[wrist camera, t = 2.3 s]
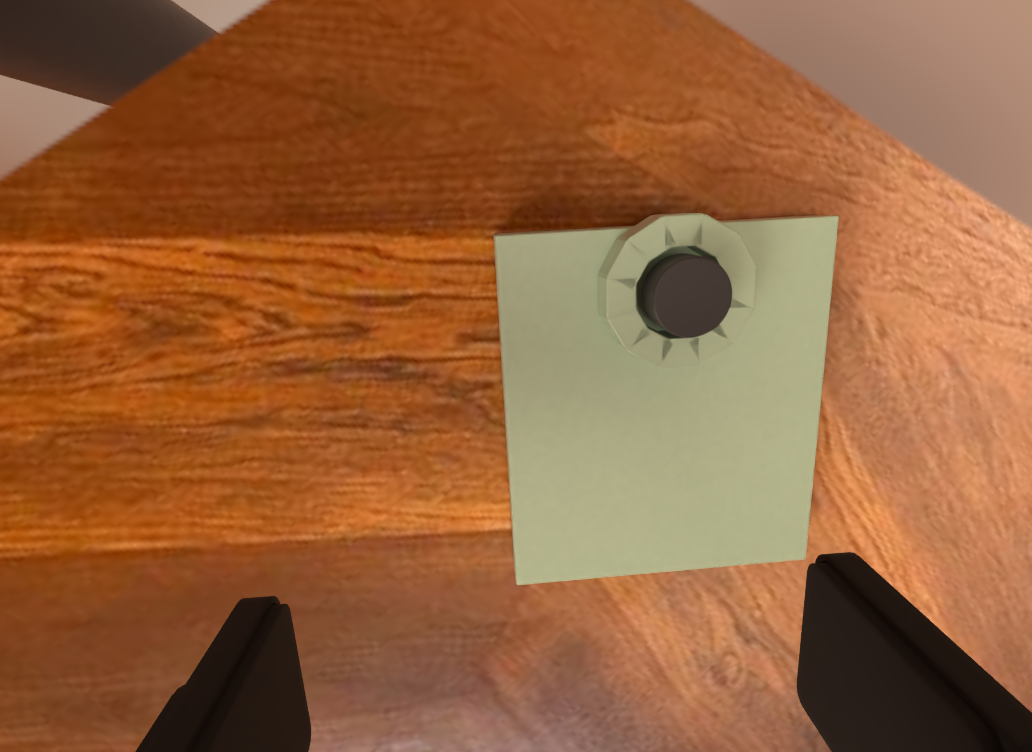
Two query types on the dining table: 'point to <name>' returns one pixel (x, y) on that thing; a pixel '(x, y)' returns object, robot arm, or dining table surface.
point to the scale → (661, 397)
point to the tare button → (687, 294)
